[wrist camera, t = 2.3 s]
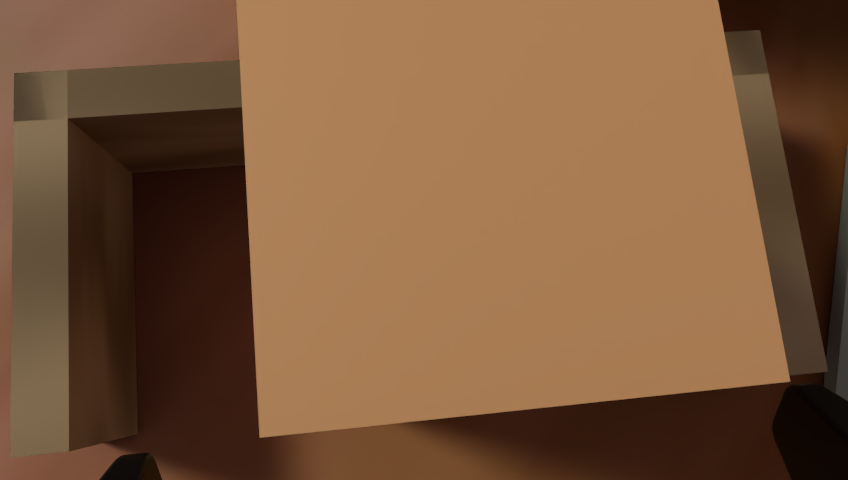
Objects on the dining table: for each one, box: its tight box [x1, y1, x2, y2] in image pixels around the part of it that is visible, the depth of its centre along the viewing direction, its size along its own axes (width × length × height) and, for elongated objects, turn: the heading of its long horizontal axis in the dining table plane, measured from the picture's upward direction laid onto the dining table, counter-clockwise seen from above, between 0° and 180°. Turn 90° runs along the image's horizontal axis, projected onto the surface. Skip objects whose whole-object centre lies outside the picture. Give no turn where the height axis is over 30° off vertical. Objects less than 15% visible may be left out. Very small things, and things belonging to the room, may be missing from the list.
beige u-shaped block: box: [10, 30, 828, 457], centre depth 19 cm, size 9×18×4 cm, turn 96°
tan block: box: [236, 0, 790, 438], centre depth 14 cm, size 5×5×14 cm
